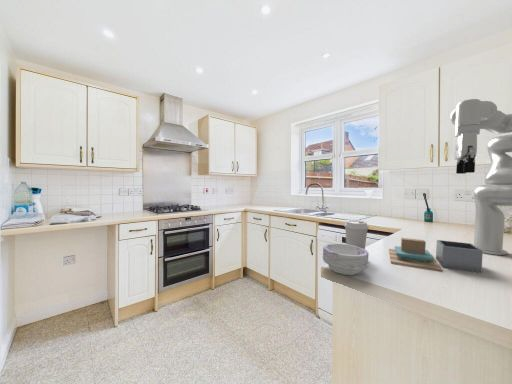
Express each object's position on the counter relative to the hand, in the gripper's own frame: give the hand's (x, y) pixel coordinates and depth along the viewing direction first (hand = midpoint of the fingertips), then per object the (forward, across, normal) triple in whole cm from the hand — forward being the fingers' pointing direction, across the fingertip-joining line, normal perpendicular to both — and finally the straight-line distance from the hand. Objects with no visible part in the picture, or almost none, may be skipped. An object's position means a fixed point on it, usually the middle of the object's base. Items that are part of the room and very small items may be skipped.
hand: (464, 173), depth 93 cm
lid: (+36, +11, -18) cm, 41 cm away
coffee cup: (+36, +20, -39) cm, 57 cm away
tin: (+36, +10, -4) cm, 38 cm away
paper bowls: (+36, +38, -41) cm, 67 cm away
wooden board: (+36, +11, -18) cm, 42 cm away
